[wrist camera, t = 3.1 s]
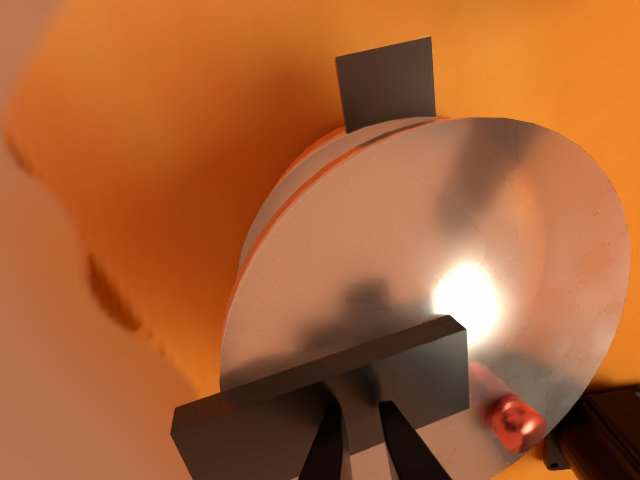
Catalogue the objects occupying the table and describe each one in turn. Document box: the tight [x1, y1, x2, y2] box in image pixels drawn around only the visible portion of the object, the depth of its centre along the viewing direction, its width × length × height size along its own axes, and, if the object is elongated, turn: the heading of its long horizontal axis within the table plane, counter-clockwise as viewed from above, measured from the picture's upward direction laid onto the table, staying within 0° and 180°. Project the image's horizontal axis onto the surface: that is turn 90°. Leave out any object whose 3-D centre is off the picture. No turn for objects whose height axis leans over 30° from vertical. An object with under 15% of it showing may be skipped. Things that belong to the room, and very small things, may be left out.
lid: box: [170, 118, 630, 480], centre depth 10 cm, size 14×15×2 cm
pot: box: [237, 37, 448, 274], centre depth 16 cm, size 18×14×5 cm
